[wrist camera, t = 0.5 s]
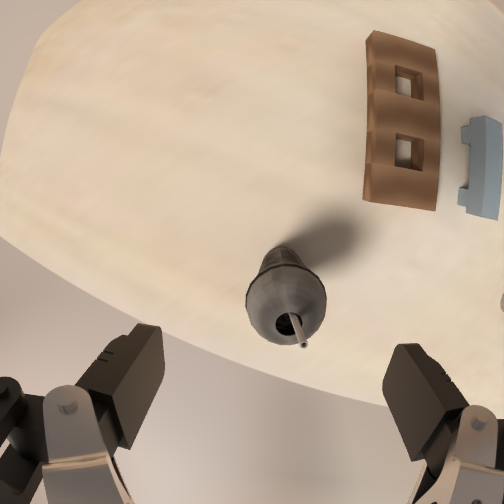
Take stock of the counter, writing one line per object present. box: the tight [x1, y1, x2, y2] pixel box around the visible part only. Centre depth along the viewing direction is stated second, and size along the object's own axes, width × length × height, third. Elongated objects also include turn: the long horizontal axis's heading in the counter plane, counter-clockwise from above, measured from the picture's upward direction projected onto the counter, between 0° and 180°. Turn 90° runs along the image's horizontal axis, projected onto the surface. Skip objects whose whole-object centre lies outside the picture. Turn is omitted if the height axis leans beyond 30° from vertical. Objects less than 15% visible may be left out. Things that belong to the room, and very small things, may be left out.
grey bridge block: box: [457, 116, 503, 221], centre depth 28 cm, size 13×4×6 cm, turn 177°
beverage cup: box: [246, 247, 327, 348], centre depth 27 cm, size 7×7×20 cm
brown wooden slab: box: [362, 30, 440, 211], centre depth 29 cm, size 22×9×4 cm, turn 177°
